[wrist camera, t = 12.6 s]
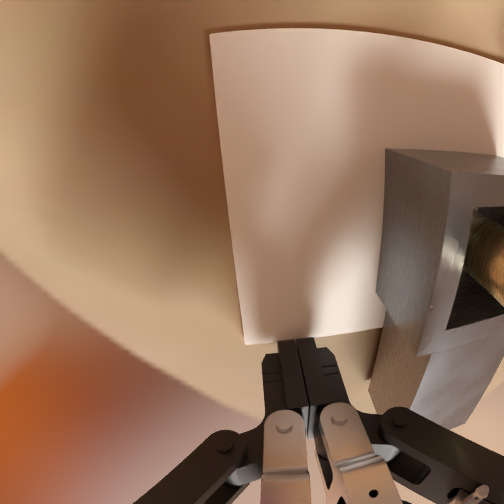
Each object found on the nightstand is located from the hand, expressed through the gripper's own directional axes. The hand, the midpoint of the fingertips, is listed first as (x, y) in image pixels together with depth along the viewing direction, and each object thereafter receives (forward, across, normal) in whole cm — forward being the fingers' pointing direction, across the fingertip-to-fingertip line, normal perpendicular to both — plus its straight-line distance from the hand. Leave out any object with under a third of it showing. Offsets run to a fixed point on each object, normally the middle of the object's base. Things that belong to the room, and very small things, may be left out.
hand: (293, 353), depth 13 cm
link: (+1, -6, -2) cm, 7 cm away
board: (+1, -7, -6) cm, 9 cm away
